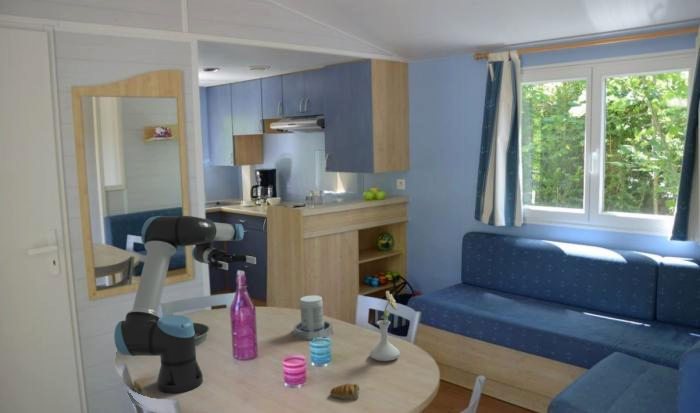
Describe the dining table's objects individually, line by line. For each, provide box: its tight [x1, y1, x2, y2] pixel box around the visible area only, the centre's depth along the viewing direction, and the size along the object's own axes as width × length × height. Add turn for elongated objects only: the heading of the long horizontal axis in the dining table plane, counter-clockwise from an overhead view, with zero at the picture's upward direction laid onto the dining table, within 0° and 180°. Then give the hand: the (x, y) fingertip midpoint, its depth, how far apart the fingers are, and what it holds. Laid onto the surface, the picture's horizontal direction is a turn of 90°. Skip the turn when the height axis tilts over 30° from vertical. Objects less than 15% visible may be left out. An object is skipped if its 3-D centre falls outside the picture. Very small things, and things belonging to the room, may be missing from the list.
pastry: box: [329, 383, 361, 400], centre depth 184 cm, size 9×7×4 cm
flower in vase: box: [369, 290, 401, 362], centre depth 213 cm, size 13×11×25 cm
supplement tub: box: [299, 294, 325, 332], centre depth 243 cm, size 10×10×15 cm
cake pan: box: [193, 322, 211, 347], centre depth 240 cm, size 25×25×4 cm
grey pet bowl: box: [293, 320, 334, 341], centre depth 244 cm, size 16×16×3 cm
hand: (241, 263), depth 238 cm, fingers open, 13 cm apart
